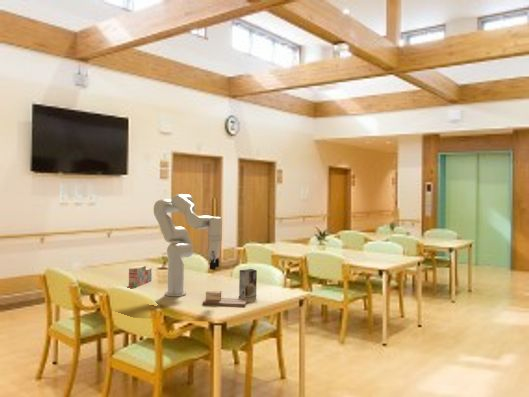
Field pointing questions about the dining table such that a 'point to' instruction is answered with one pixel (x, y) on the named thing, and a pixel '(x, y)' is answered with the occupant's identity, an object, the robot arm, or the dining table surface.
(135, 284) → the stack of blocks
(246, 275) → the coffee box
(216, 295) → the block
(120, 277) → the dining table surface
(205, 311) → the dining table surface
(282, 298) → the dining table surface
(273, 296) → the dining table surface
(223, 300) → the board
